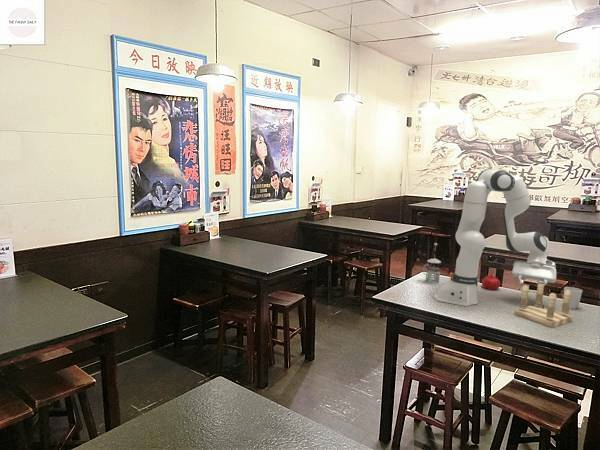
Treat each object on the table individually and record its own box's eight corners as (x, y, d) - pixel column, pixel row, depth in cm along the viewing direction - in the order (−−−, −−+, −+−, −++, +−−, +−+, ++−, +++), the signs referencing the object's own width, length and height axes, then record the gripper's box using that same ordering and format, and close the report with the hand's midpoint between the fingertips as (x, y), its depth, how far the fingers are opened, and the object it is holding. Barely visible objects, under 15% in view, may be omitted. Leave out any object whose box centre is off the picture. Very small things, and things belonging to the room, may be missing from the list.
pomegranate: (491, 292, 243) (492, 276, 241) (477, 286, 252) (479, 272, 250) (503, 290, 247) (505, 275, 246) (489, 285, 256) (491, 270, 254)
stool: (551, 327, 192) (555, 295, 190) (513, 314, 208) (517, 284, 205) (572, 321, 201) (576, 290, 199) (534, 308, 217) (538, 279, 214)
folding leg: (541, 304, 210) (544, 282, 209) (534, 303, 212) (537, 280, 210) (542, 303, 213) (545, 281, 211) (535, 301, 214) (538, 279, 213)
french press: (444, 285, 252) (447, 244, 248) (427, 286, 249) (430, 244, 245) (434, 280, 262) (438, 241, 258) (418, 281, 259) (421, 241, 255)
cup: (582, 310, 217) (585, 292, 215) (565, 309, 218) (567, 290, 216) (575, 305, 224) (578, 287, 223) (559, 304, 226) (561, 286, 224)
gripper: (514, 257, 225) (508, 278, 219) (558, 263, 214) (554, 286, 207) (514, 263, 230) (509, 284, 223) (558, 270, 218) (554, 292, 212)
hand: (531, 285), depth 215 cm, fingers open, 8 cm apart
